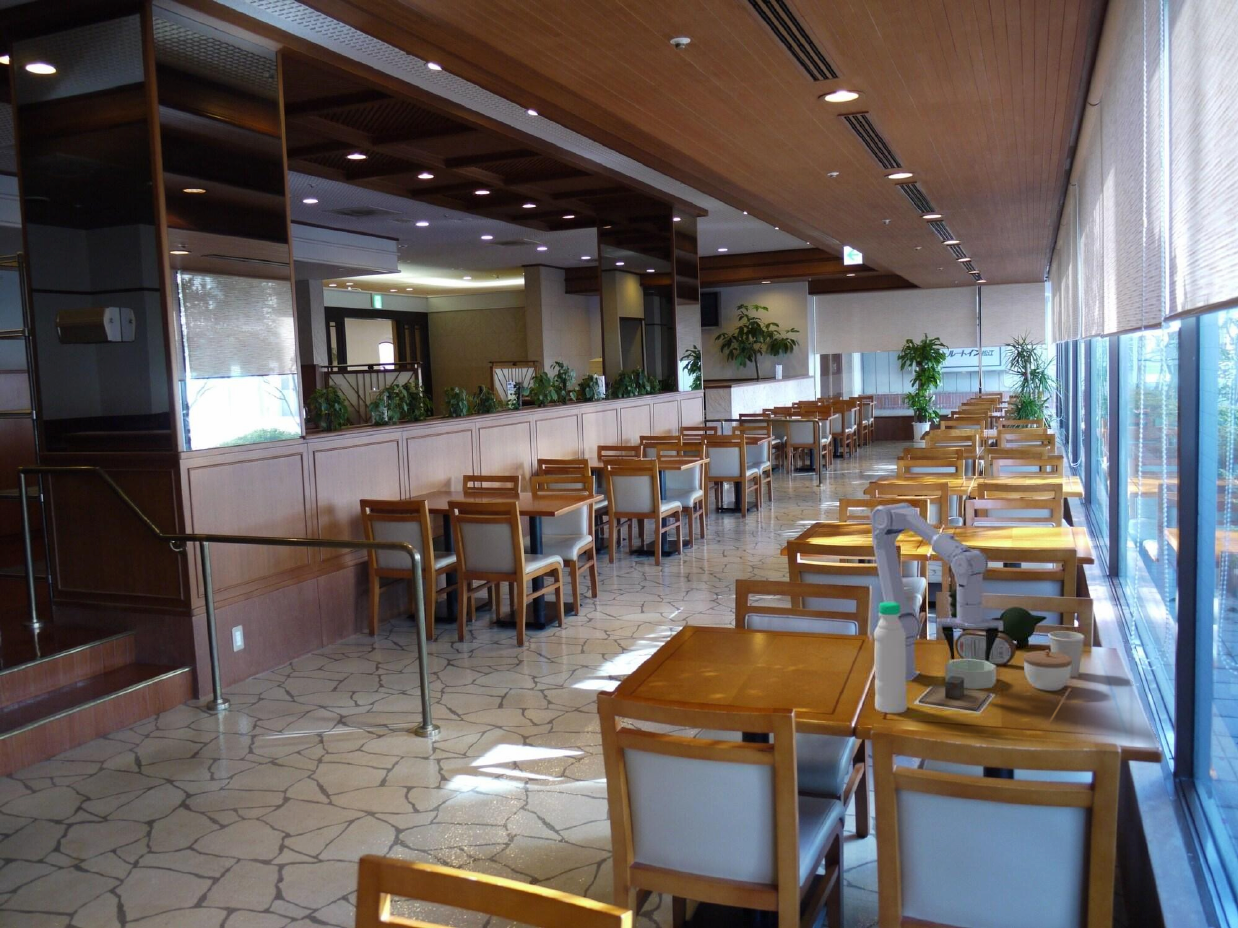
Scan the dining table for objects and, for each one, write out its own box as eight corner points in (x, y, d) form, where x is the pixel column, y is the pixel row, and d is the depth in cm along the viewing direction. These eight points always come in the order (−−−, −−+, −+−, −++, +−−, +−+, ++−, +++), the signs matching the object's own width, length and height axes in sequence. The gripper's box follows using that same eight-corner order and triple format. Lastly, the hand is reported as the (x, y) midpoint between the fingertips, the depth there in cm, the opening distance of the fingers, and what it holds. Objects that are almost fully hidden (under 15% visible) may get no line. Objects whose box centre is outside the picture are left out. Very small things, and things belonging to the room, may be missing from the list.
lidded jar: (1076, 695, 232) (1076, 656, 231) (1028, 694, 234) (1028, 656, 233) (1065, 682, 243) (1065, 644, 242) (1019, 680, 245) (1019, 643, 244)
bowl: (941, 686, 243) (941, 668, 242) (953, 674, 252) (953, 656, 252) (988, 692, 237) (988, 674, 236) (999, 679, 246) (999, 662, 246)
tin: (1016, 665, 258) (1016, 633, 257) (1013, 668, 255) (1013, 636, 255) (957, 658, 266) (956, 627, 265) (954, 661, 263) (953, 630, 263)
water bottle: (901, 716, 222) (900, 607, 220) (870, 712, 226) (869, 604, 224) (910, 707, 228) (909, 601, 226) (880, 703, 232) (878, 598, 230)
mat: (913, 705, 230) (913, 703, 230) (931, 687, 242) (931, 685, 242) (979, 715, 222) (979, 713, 222) (995, 695, 234) (995, 694, 234)
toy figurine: (952, 651, 278) (1048, 651, 267) (945, 585, 277) (1041, 582, 266) (957, 643, 286) (1050, 642, 275) (950, 578, 286) (1043, 575, 274)
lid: (918, 702, 230) (918, 683, 230) (934, 687, 241) (934, 668, 240) (976, 711, 223) (976, 691, 222) (989, 694, 234) (989, 675, 233)
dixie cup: (1064, 667, 254) (1064, 629, 254) (1092, 675, 247) (1092, 636, 246) (1040, 672, 251) (1040, 633, 250) (1068, 680, 243) (1068, 641, 243)
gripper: (937, 605, 229) (938, 662, 230) (1004, 606, 225) (1004, 664, 227) (936, 598, 236) (936, 653, 237) (1001, 599, 232) (1001, 656, 233)
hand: (969, 658), depth 232 cm, fingers open, 7 cm apart
